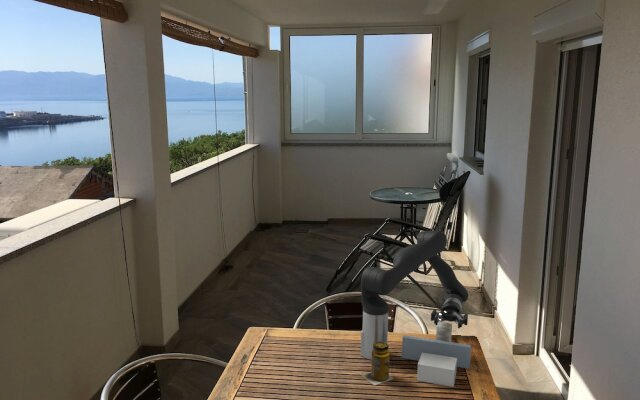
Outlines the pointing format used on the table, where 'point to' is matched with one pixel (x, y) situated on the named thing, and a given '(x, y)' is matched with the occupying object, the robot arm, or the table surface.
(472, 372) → the table surface
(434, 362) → the plinth
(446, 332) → the lettered block
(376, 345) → the condiment
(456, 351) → the screen
